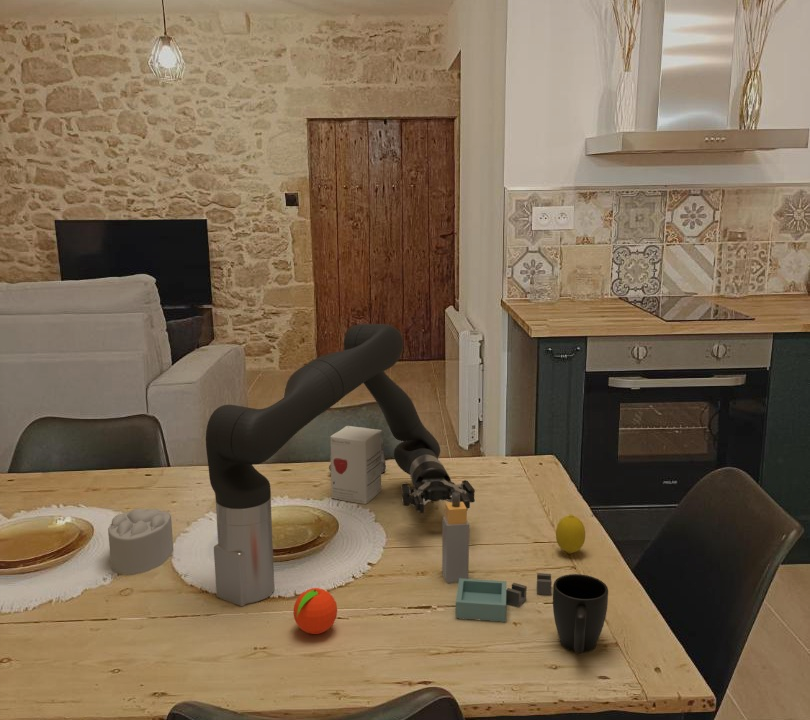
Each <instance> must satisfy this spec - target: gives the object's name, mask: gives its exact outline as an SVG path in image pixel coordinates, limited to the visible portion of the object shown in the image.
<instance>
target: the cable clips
mask: <svg viewBox="0 0 810 720" xmlns="http://www.w3.org/2000/svg"><path fill="white" fill-rule="evenodd" d="M527 588H528V587H527V585H523V584H521V583H516V582H513V583H512V584H511V588H510V587H508V588H506V605H510V606H512V607H515V608H516V607H517V608H520V607H521V606H522V605H523V604H524V603H525V602H526V601H527V592H528V591H527ZM536 594H537V595H539V596H542V595H543V596H552V574H551V573H542V572H541V573H540V572H536Z"/></svg>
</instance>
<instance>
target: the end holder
mask: <svg viewBox="0 0 810 720" xmlns="http://www.w3.org/2000/svg"><path fill="white" fill-rule="evenodd" d="M507 586H508V585H507V580H493V579H490V580H489V579H479V578H478V579H477V578H476V579H475V578H468V579H463V578H459V582H458V585H457V593H456V600H455V619H456V618H459V619H458V620H467V619H480V620H479V621H481V620H490V621H489V622H495V621H500V622H499V623H506V622H507V621H506V620H507V618H506V617H507V604H506V590H507ZM462 618H464V619H462Z"/></svg>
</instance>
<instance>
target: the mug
mask: <svg viewBox="0 0 810 720" xmlns="http://www.w3.org/2000/svg"><path fill="white" fill-rule="evenodd" d="M552 586H553V587H552V612H553V617H554V623H555V626H556V632H557V634H558V639H559V642H560V645H561V646H562V647H563V648H564V649H566V650H568V651H571V652H575V653H577V654H582V653H589V652H591V651H593V650H595V648H597V647H596V646H597V643H598V641H599V639H600V636H601V634H602V631H603V628H604V626H605V625H604V624H605V620H606V617H607V611H608V601H609V589H608V588H609V587H608V586H607V585H606V583H605V582H603V581H602V580H600V579H599V578H596V577H594V576H590V575H587V574H582V573H581V574H578V573H571V574H565V575H561V576H559V577H558V578H556V579H555V580H554V582H553V585H552Z"/></svg>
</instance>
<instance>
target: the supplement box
mask: <svg viewBox="0 0 810 720" xmlns="http://www.w3.org/2000/svg"><path fill="white" fill-rule="evenodd" d="M382 431H383V430H382V429H376V428H375V429H374V428H368V427H363V426H362V427H360V426H353V425H352V426H351V425H346V426H344V427H343V428H342V429H340V430H338V431H336V432H335V433H333V434H332V435H330V457H331V461H330V464H331V471H330V473H331V474H330V487H331V488H330V491H331V492H330V495H331V497H330V498H331V499H332V498H335V499H334V500H337V499H339V501H344V502H349V503H356V504H362V505H367V504H369V502H371V500H373V499H374V498H375V497H377V496H378V494H380V493H381V492H382V473H381V438H382V433H383V432H382Z"/></svg>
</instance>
